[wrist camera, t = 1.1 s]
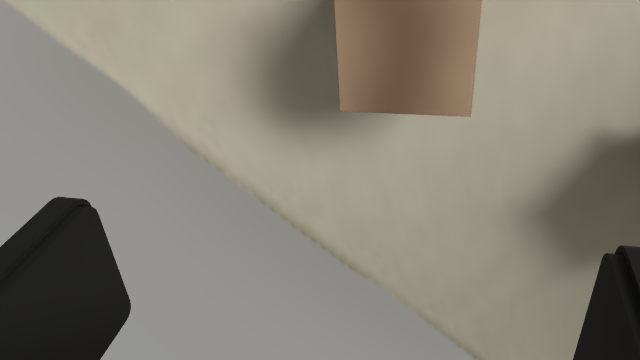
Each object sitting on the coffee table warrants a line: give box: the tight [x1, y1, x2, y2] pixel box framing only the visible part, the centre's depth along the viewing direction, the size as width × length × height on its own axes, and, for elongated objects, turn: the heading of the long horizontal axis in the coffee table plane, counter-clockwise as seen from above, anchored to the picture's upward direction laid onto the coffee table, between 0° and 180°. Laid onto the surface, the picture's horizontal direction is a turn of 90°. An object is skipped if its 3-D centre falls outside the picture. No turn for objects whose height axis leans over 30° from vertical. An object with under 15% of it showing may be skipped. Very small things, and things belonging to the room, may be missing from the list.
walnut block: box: [334, 0, 482, 117], centre depth 23 cm, size 5×5×8 cm
